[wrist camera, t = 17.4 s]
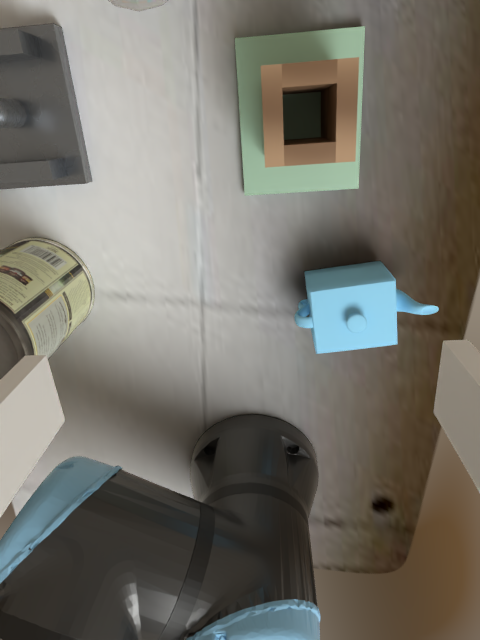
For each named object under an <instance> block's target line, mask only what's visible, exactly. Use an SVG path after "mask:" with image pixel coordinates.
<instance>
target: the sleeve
mask: <svg viewBox="0 0 480 640" xmlns="http://www.w3.org/2000/svg"><path fill="white" fill-rule="evenodd" d="M358 77H359V57H355V58H343V59H332V60H320V61H308V62H297V63H285V64H274V65H262V66H261V87H262V109H263V132H264V155H265V168H267V167H281V166H296V165H311V164H325V163H340V162H355V160H356V132H357V104H358ZM311 92H321V137H315V138H301V139H288V140H284V133H283V95H286V94H299V93H311Z"/></svg>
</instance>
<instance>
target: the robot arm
mask: <svg viewBox="0 0 480 640" xmlns="http://www.w3.org/2000/svg"><path fill="white" fill-rule="evenodd" d="M434 414H435V416H436V417H437V419H438V421H439V423H440V424H441V426H442V428H443V429H444V431H445V433H446V435H447V436H448V438H449V440H450V441H451V443H452V445H453V447H454V449H455V450H456V452H457V454H458V456H459V457H460V459H461V461H462V463H463V464H464V466H465V468H466V470H467V471H468V473H469V475H470V476H471V478H472V480H473V482H474V483H475V485H476V487H477V489H478V491H479V492H480V352H479V351H478V350H477V349H476V348H475V347H474V346H473V345H472V344H471V342H470V341H469V340H450V341H443V346H442V354H441V361H440V368H439V376H438V383H437V391H436V398H435V405H434ZM64 422H65V418H64V414H63V411H62V407H61V404H60V400H59V397H58V393H57V390H56V386H55V383H54V379H53V376H52V372H51V369H50V365H49V362H48V358H47V355H30V356H24V357H23V358H22V359H21V360H20V361H19V362H18V363H17V364H16V365H15V366H14V367H13V368H12V369H11V370H10V371H9V372H8V373H7V374H6V375H5V376H4V377H3V378H2V379H1V380H0V517H1V516H2V514H3V513H4V511H5V510H6V508H7V507H8V505H9V504H10V502H11V501H12V499H13V498H14V496H15V495H16V493H17V492H18V491H19V489H20V488H21V486H22V485H23V483H24V482H25V480H26V479H27V477H28V476H29V474H30V473H31V471H32V470H33V468H34V467H35V465H36V464H37V462H38V461H39V459H40V458H41V456H42V455H43V453H44V452H45V450H46V449H47V447H48V446H49V444H50V443H51V441H52V440H53V438H54V437H55V435H56V434H57V432H58V431H59V429H60V428H61V426H62V425H63V423H64ZM318 477H319V476H318V466H317V460H316V455H315V452H314V449H313V447H312V445H311V443H310V442H309V441H308V439H307V438H306V437H305V436H304V435H303V434H302V433H301V432H300V431H299V430H298V429H296V428H295V427H293V426H292V425H290V424H288V423H286V422H284V421H282V420H279V419H276V418H272V417H268V416H262V415H242V416H236V417H232V418H229V419H226V420H223V421H221V422H219V423H217V424H215V425H214V426H212V427H211V428H209V429H208V430H207V431H206V432H205V433H204V434H203V435H202V436H201V438H200V439H199V440H198V442H197V444H196V446H195V448H194V451H193V456H192V460H191V465H190V482H191V487H192V491H193V496H194V499H193V498H190V497H187V496H185V495H182V494H179V493H177V492H175V491H172V490H170V489H167V488H165V487H162V486H160V485H157V484H155V483H152V482H150V481H148V480H145V479H143V478H140V477H138V476H135V475H133V474H130V473H128V472H125V471H123V470H122V467H120V466H115V467H113V466H110V465H107V464H104V463H101V462H98V461H95V460H92V459H89V458H86V457H81V456H77V457H72V458H69V459H67V460H65V461H63V462H62V463H60V464H59V465H58V466H57V467H56V468H55V469H54V470H53V471H52V472H51V473H50V474H49V475H48V476H47V477H46V479H45V480H44V481H43V482H42V483H41V485H40V486H39V487H38V488H37V490H36V491H35V492H34V494H33V495H32V496H31V498H30V499H29V500H28V501H27V503H26V504H25V506H24V507H23V508H22V510H21V511H20V512H19V514H18V515H17V517H16V518H15V519H14V521H13V523H12V524H11V525H10V527H9V528H8V530H7V531H6V533H5V534H4V536H3V537H2V539H1V540H0V640H320V631H319V630H320V628H319V622H320V612H319V609H318V607H317V599H316V589H315V580H314V571H313V562H312V553H311V543H310V534H309V526H308V518H309V514H310V511H311V507H312V504H313V501H314V497H315V494H316V490H317V486H318Z"/></svg>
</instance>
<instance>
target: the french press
mask: <svg viewBox="0 0 480 640" xmlns="http://www.w3.org/2000/svg"><path fill="white" fill-rule="evenodd" d="M108 1H109V2H111V3H112V4H113V5H115V6H118V7H122V8H127V9H131V10H136V11H142V10H146V9H150V8H154V7H157V6H161V5H163V4H164V3H165V2H167V1H168V0H108Z"/></svg>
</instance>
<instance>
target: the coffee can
mask: <svg viewBox="0 0 480 640" xmlns="http://www.w3.org/2000/svg"><path fill="white" fill-rule="evenodd" d="M94 296H95V293H94V284H93V281H92V278H91V275H90V273H89V271H88V269H87V267H86V266H85V264H84V263H83V262H82V260H81V259H80V258H79V257H78V256H77V255H76V254H75V253H74V252H72V251H71V250H70V249H68V248H67V247H65V246H63V245H61V244H59V243H57V242H55V241H52V240H48V239H43V238H27V239H23V240H20V241H17V242H15V243H13V244H12V245H10V246H9V247H7V248H5V249H3V250H1V251H0V380H1V379H2V378H3V377H4V376H5V375H6V374H7V373H8V372H9V371H10V370H11V369H12V368H13V367H14V366H15V365H16V364H17V363H18V362H19V361H20V360H21V359H22V358H23V357H24V356H30V355H47V358H48V359H49V357H50V356H51V355H52V354H53V353H54V352H55V351H56V350H57V349H58V348H59V347H60V345H61V344H62V343H63V342H64V341H65V340H66V339H67V337H68V336H69V335H70V334H71V333H72V332H73V331H74V330H75V329H76V327H77V326H78V325H79V324H80V323H82V322H83V321H84V320H85V319H86V318H87V316H88V315H89V313H90V311H91V309H92V307H93V303H94Z"/></svg>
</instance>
